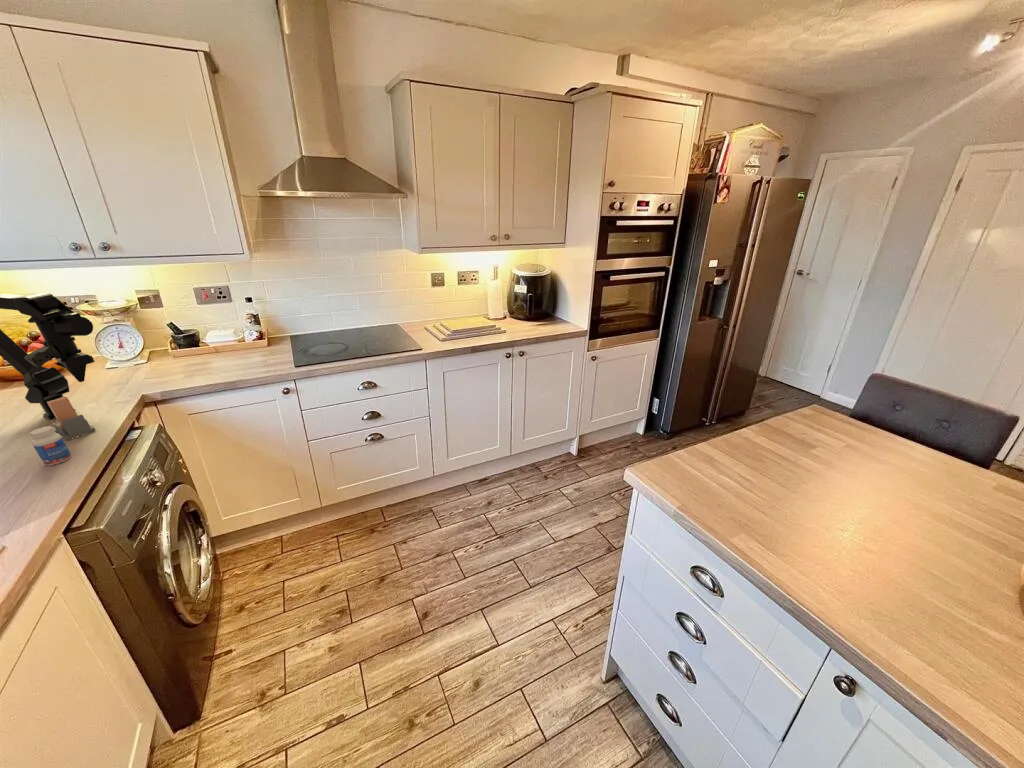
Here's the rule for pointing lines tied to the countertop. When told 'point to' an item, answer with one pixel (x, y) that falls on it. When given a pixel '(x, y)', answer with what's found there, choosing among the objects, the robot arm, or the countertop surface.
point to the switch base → (73, 427)
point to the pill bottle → (50, 446)
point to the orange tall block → (62, 409)
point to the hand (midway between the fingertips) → (81, 381)
